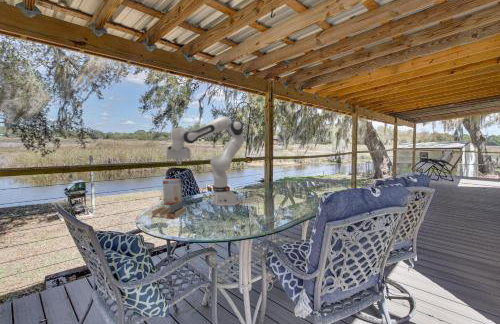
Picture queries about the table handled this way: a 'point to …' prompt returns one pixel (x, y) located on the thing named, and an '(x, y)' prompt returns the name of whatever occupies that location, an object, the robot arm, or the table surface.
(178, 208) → the blanking panel
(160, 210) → the rack
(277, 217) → the table surface
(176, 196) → the cracker box
